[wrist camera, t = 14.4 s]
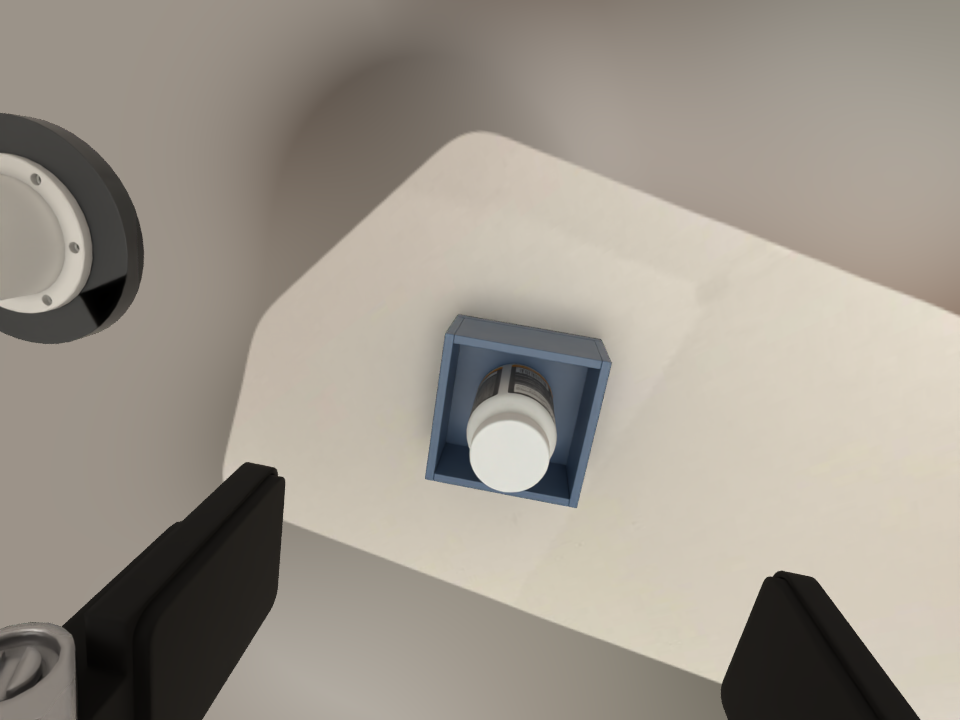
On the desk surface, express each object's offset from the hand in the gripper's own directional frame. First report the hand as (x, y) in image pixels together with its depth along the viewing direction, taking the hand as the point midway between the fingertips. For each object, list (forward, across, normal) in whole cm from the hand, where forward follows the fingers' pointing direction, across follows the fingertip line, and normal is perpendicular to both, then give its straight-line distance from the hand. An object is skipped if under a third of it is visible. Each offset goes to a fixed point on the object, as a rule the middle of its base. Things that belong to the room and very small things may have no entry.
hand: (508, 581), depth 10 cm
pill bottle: (+30, -1, +7) cm, 31 cm away
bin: (+30, -1, +7) cm, 31 cm away
